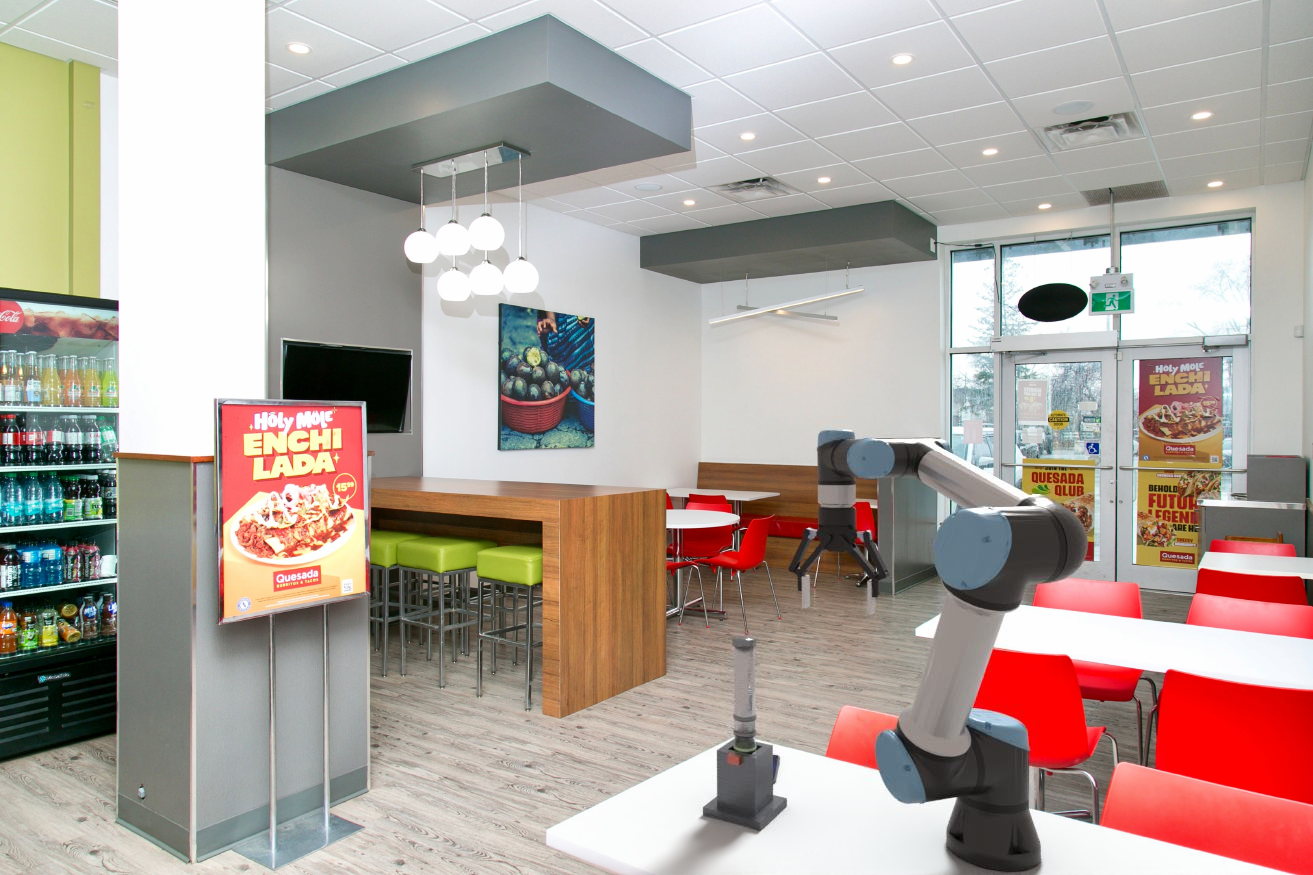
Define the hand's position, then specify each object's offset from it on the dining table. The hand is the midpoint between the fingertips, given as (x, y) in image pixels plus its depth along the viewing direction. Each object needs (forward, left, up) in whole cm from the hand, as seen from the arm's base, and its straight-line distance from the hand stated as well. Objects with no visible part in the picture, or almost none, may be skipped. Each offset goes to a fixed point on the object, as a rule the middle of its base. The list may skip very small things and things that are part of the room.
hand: (838, 610), depth 165 cm
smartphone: (+18, -2, -37) cm, 41 cm away
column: (+12, +18, -27) cm, 34 cm away
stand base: (+12, +18, -37) cm, 42 cm away
